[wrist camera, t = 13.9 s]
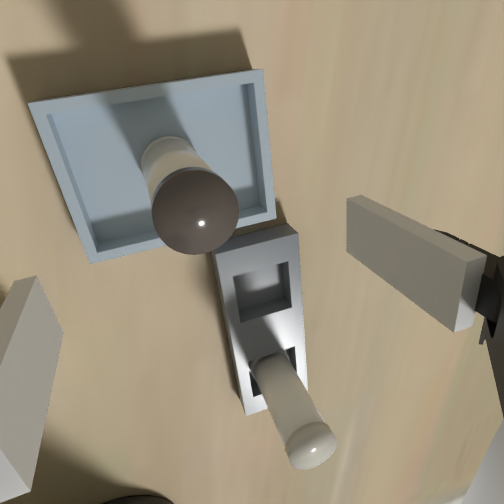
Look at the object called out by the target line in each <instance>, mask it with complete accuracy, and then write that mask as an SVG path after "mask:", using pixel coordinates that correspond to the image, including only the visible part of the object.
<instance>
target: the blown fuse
mask: <svg viewBox="0 0 504 504" xmlns="http://www.w3.org/2000/svg"><path fill="white" fill-rule="evenodd" d="M141 169H142V174H143V177H144V179H145V181H146V185H147V189H148V194H149V198H150V202H151V214H152V219H153V224H154V227H155V230H156V232H157V234H158V236H159V237H160V239H161V240H162V241H163V242H164V243H165V244H166V245H167V246H168V247H170V248H171V249H173V250H175V251H177V252H180V253H184V254H191V255H197V254H204V253H208V252H211V251H213V250H215V249H217V248H219V247H220V246H221V245H223V244H224V243H225V242H226V241H227V240H228V239H229V238H230V237H231V235H232V234H233V232H234V230H235V228H236V226H237V223H238V219H239V204H238V200H237V197H236V195H235V193H234V191H233V190H232V188H231V187H230V186H229V185H228V184H227V183H226V182H225V181H224V179H223V178H222V177H220V176H219V175H218V174H216V173H215V172H214V171H213V170H212V169H211V168H210V167H209V166H208V165H207V164H206V163H205V161H204V160H203V159H202V158H201V157H200V156H199V155H198V153H197V151H196V150H195V149H194V148H193V147H192V145H191V144H190V143H189V142H187V141H186V140H184V139H183V138H181V137H178V136H174V135H164V136H160V137H157V138H155V139H153V140H152V141H151V142H150V143H149V144H148V145H147V146H146V147H145V149H144V151H143V153H142V156H141Z"/></svg>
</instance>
